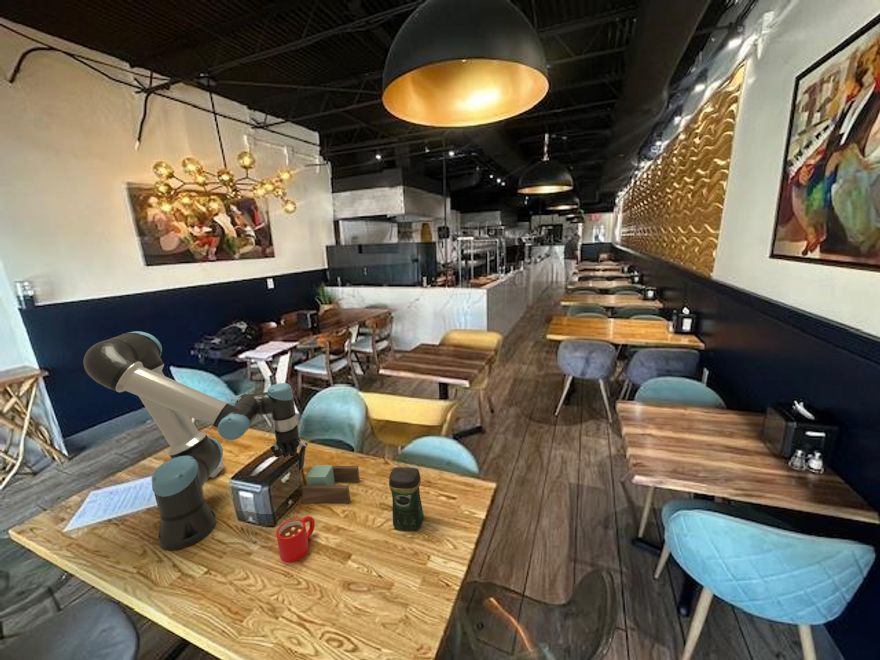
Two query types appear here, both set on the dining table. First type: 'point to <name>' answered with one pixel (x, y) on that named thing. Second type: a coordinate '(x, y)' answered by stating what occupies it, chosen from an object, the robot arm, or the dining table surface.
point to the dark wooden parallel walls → (332, 487)
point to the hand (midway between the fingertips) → (295, 486)
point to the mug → (294, 538)
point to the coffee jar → (406, 498)
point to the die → (218, 468)
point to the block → (321, 475)
